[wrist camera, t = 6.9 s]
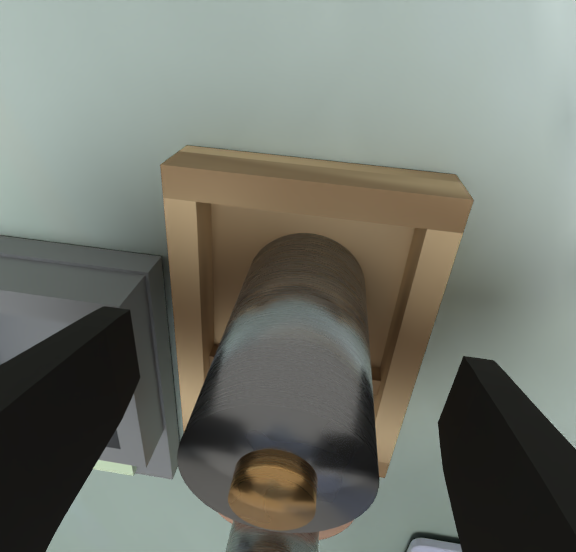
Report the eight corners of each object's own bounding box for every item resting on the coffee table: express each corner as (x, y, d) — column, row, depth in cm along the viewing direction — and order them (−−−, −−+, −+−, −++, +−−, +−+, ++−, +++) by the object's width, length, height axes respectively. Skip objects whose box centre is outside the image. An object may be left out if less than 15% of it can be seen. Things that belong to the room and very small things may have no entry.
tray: (381, 434, 16) (384, 478, 14) (200, 405, 16) (184, 445, 15) (456, 174, 11) (473, 200, 9) (186, 145, 11) (160, 164, 10)
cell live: (352, 341, 13) (356, 577, 7) (244, 323, 13) (169, 541, 8) (377, 244, 11) (407, 458, 6) (252, 224, 11) (162, 414, 6)
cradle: (180, 458, 18) (157, 517, 16) (28, 433, 19) (-15, 487, 16) (161, 256, 13) (122, 303, 11) (-49, 229, 14) (-128, 269, 11)
